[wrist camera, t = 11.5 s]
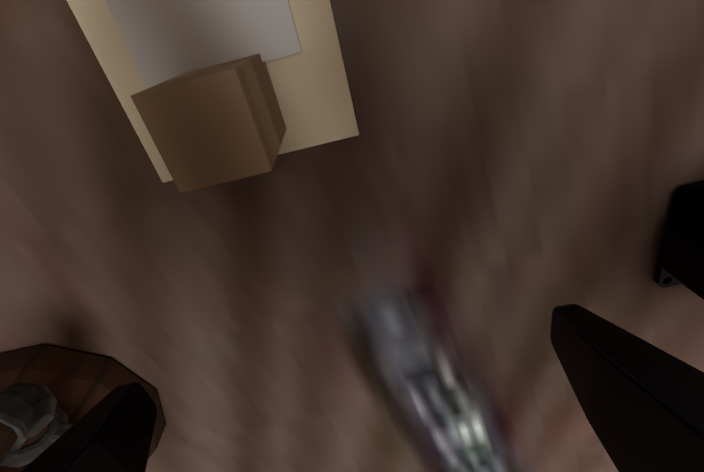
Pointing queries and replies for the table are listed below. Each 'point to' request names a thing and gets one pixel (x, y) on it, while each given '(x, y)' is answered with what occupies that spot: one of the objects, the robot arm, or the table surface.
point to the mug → (54, 398)
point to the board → (285, 72)
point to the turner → (209, 83)
